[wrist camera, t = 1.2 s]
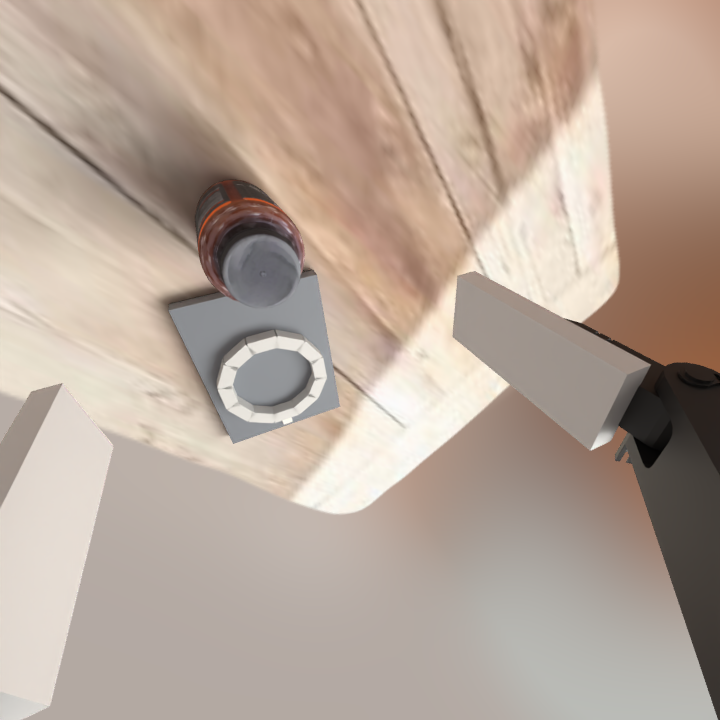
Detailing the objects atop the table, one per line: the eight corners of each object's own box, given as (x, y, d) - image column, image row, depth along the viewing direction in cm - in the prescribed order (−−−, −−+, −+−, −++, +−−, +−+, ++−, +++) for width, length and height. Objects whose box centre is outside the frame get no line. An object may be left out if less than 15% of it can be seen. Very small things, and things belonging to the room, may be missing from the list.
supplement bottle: (191, 252, 26) (192, 319, 17) (198, 166, 23) (203, 195, 15) (270, 267, 29) (304, 331, 20) (285, 192, 26) (331, 228, 18)
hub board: (169, 304, 27) (167, 317, 25) (313, 269, 30) (320, 279, 28) (232, 435, 37) (234, 452, 35) (336, 399, 40) (343, 413, 38)
